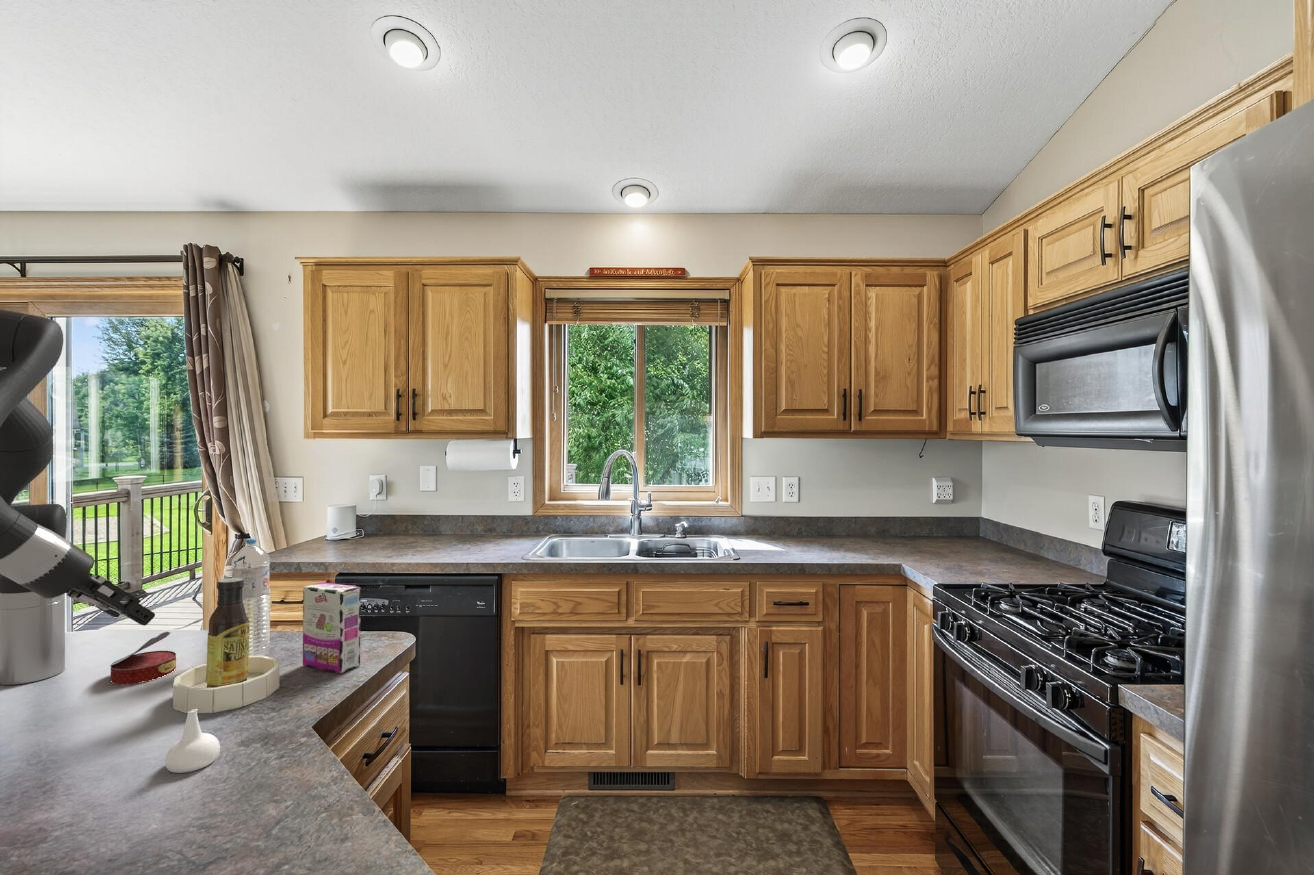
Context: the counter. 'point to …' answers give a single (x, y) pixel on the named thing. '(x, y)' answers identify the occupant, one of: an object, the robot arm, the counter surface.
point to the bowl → (225, 687)
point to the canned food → (143, 664)
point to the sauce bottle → (228, 637)
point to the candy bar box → (331, 627)
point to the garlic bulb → (192, 748)
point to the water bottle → (255, 594)
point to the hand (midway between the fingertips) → (135, 616)
